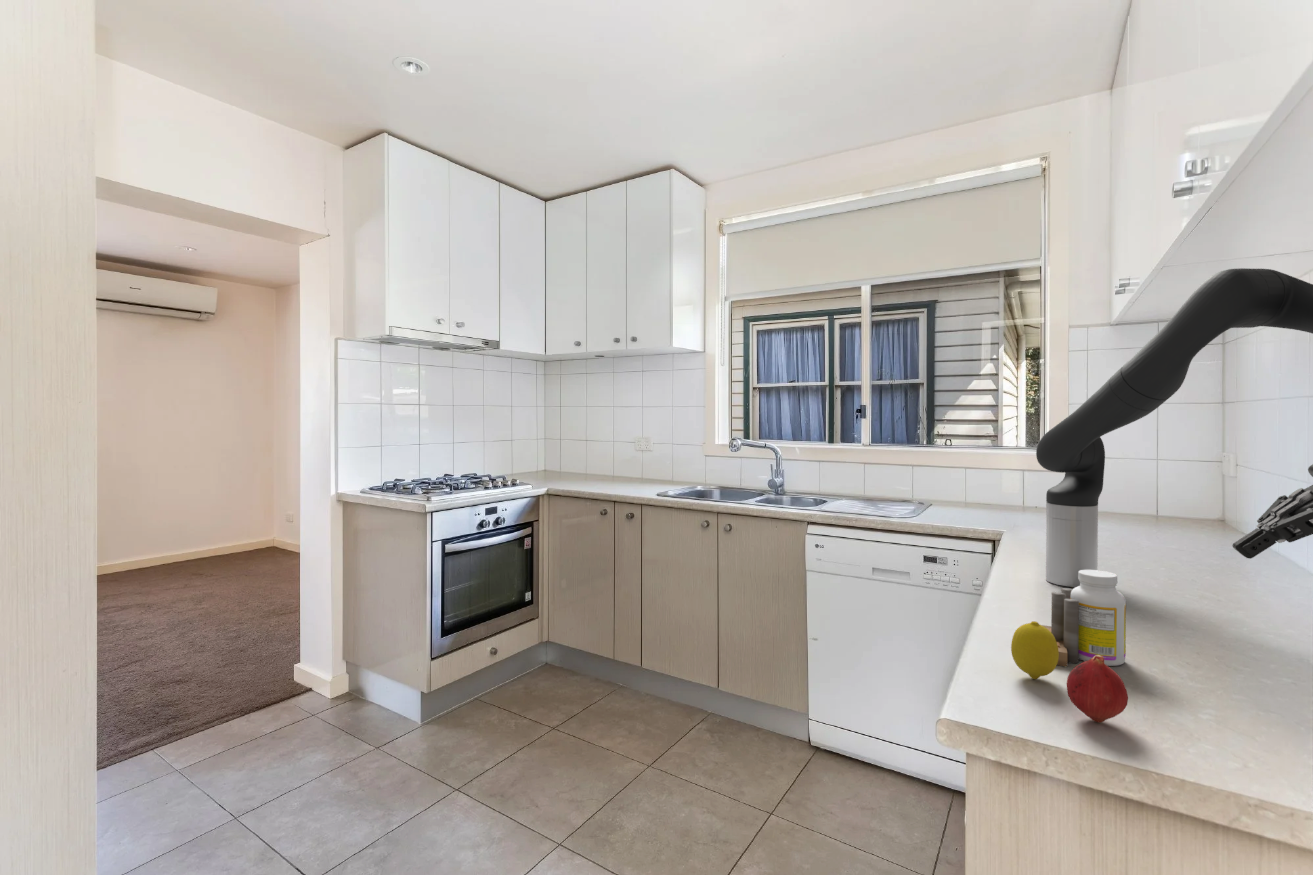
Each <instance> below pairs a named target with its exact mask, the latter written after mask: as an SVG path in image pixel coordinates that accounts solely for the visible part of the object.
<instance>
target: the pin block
mask: <svg viewBox="0 0 1313 875" xmlns="http://www.w3.org/2000/svg"><path fill="white" fill-rule="evenodd" d="M1073 589H1074V588H1070V587H1064V588H1063V587H1062V588H1061V589H1060V590H1061V591H1058V592H1057V591H1052V592H1051V617H1050V618H1051V626H1050V625H1045V624H1041V625H1042V626H1044V627H1045V628H1047V629H1048V630H1049V631H1050V632H1051V633H1052V634H1053V636H1054V637H1055V640H1056V642H1057V646H1058V651H1059V658H1058V663H1057V665H1056V666H1060V667H1061V666H1062V667H1065V666H1067V667H1068V663H1069V662H1071V663H1070V664H1078V663H1079V659H1078V642H1079V601H1078V600H1074V599H1070V596H1071V591H1072V590H1073Z"/></svg>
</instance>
